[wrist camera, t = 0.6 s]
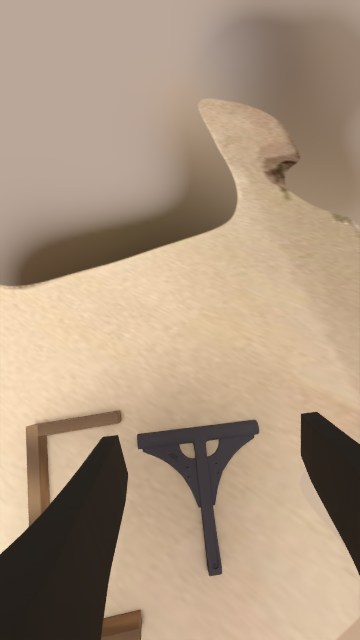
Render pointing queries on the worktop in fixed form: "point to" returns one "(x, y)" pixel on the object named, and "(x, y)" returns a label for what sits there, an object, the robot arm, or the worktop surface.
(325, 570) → the worktop surface
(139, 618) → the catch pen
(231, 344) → the worktop surface
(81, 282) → the worktop surface
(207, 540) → the bracket
